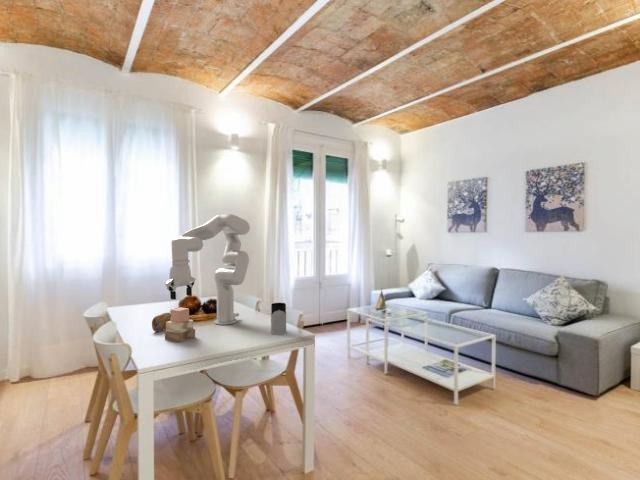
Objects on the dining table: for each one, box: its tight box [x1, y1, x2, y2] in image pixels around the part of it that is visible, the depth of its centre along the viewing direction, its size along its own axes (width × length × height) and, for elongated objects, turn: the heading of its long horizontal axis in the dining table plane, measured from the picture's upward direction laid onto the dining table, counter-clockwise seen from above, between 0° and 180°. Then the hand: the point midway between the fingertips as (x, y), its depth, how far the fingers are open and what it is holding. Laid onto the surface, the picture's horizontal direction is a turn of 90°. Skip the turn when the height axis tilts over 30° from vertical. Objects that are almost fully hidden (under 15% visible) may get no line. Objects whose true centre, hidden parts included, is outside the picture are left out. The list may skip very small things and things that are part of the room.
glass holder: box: [269, 302, 288, 336], centre depth 200 cm, size 9×14×15 cm, turn 9°
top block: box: [165, 318, 194, 333], centre depth 187 cm, size 9×9×4 cm
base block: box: [164, 328, 196, 344], centre depth 187 cm, size 10×10×4 cm
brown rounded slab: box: [151, 312, 171, 333], centre depth 204 cm, size 15×3×8 cm, turn 168°
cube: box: [170, 306, 190, 323], centre depth 187 cm, size 6×6×6 cm
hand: (181, 297), depth 187 cm, fingers open, 9 cm apart
